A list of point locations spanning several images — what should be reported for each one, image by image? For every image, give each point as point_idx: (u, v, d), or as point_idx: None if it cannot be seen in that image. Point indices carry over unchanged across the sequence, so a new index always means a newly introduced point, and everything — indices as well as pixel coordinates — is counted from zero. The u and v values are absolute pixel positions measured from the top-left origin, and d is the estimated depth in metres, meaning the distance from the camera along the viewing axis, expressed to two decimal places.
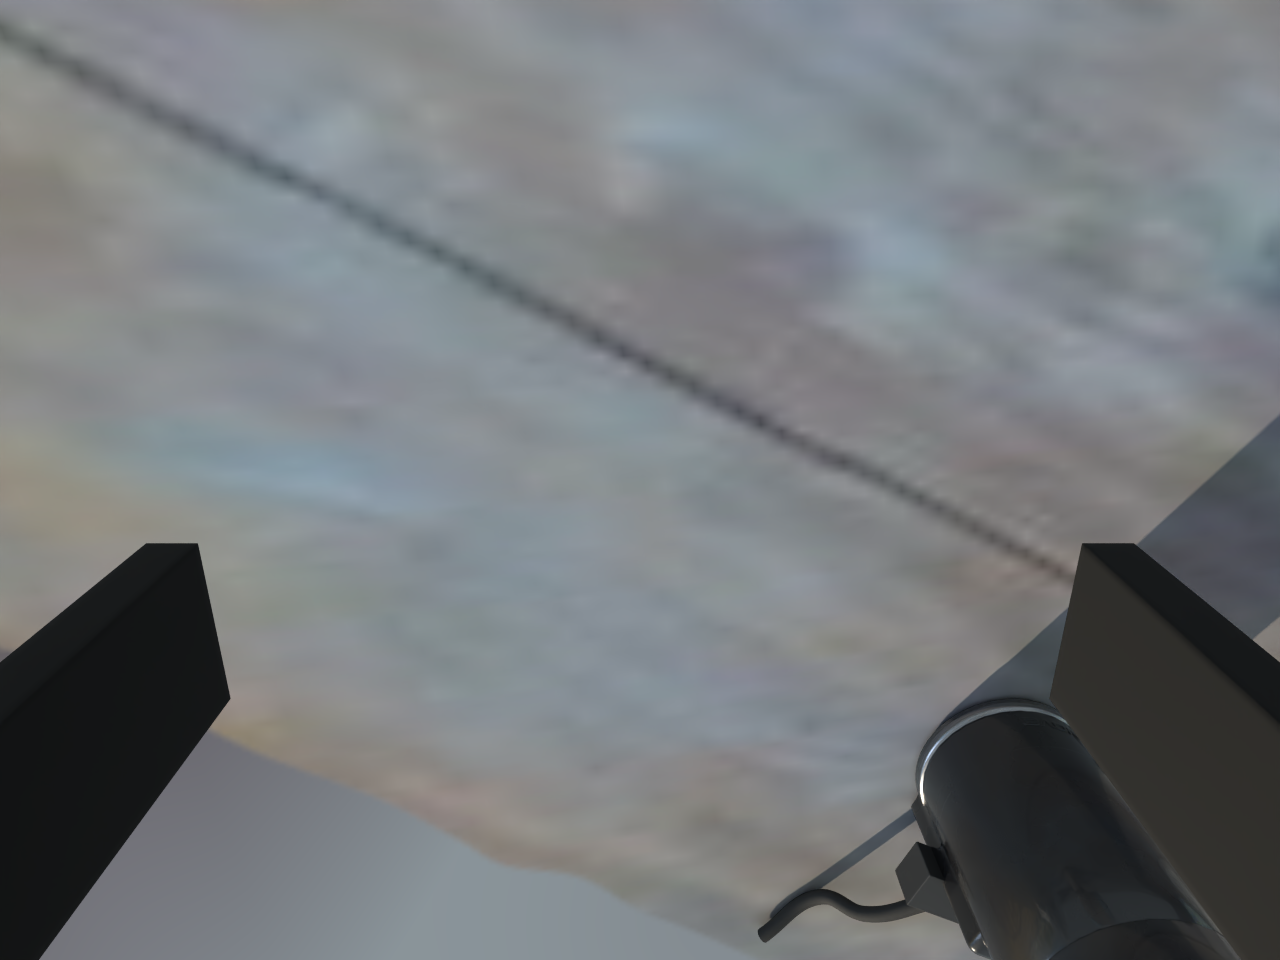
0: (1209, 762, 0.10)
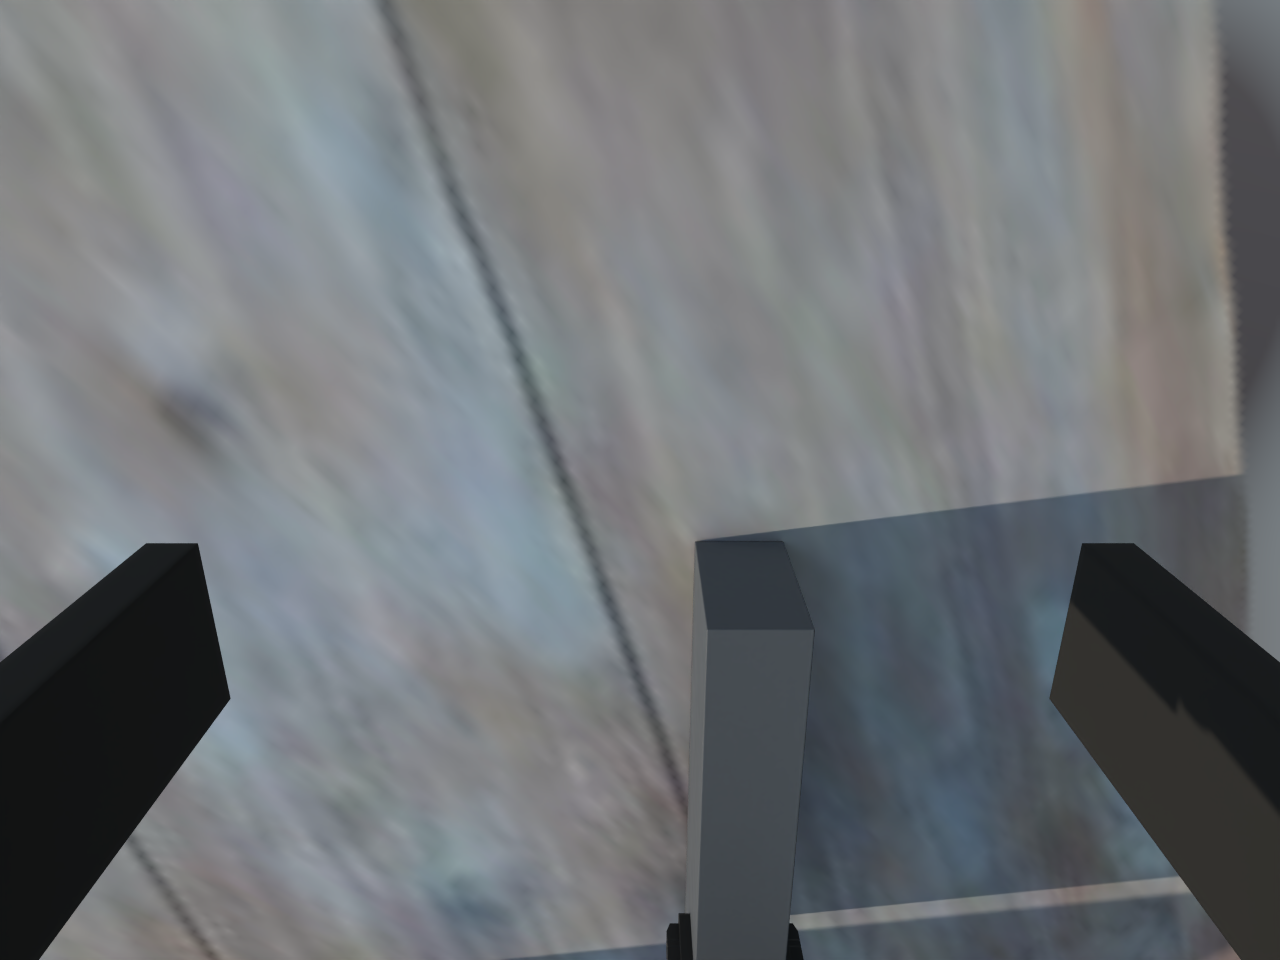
0: (1209, 762, 0.10)
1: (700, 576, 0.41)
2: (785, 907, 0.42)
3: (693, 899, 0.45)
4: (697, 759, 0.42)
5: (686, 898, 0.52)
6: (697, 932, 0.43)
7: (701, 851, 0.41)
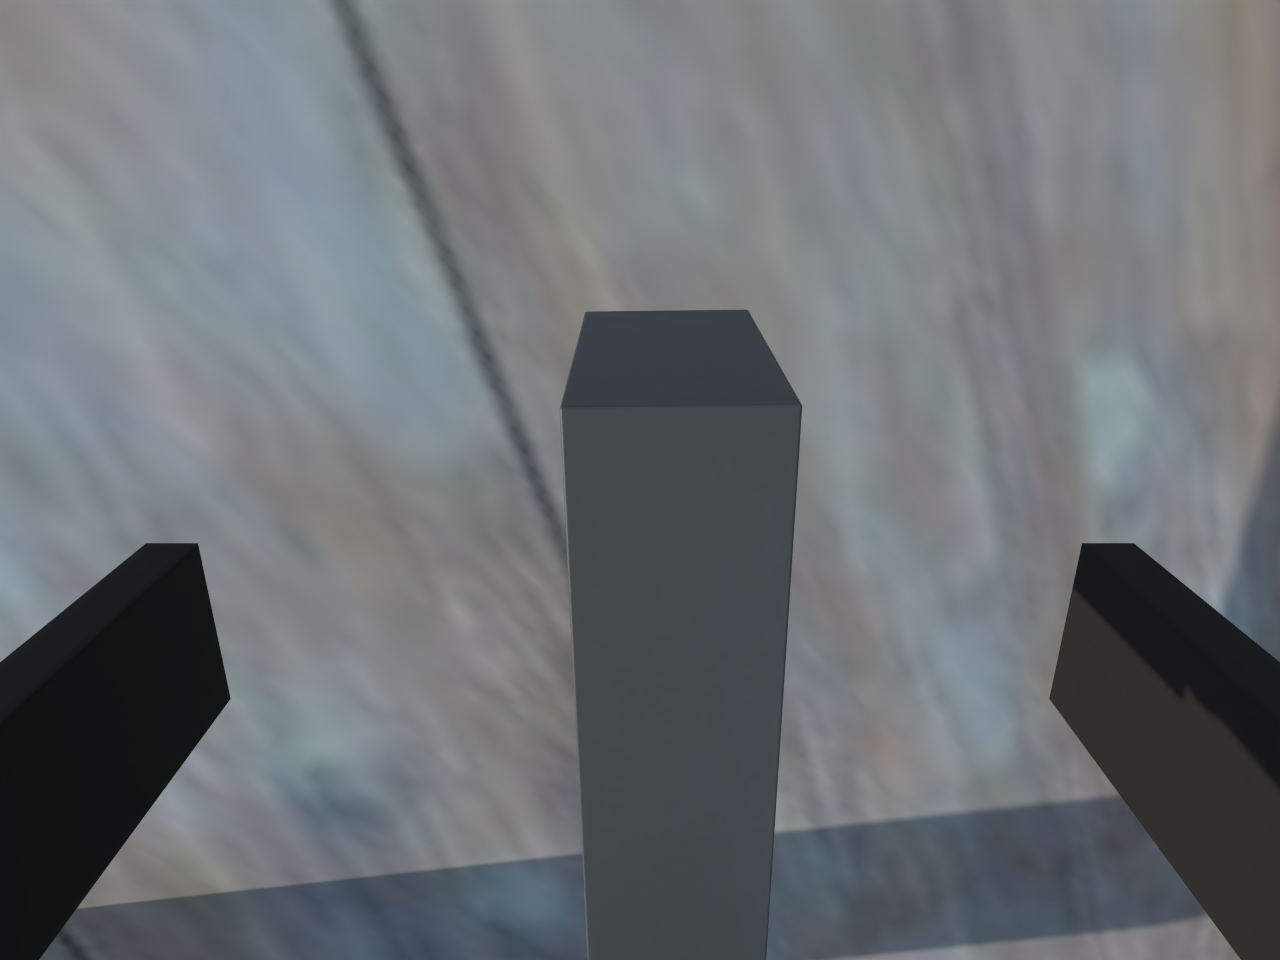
0: (1209, 762, 0.10)
1: (578, 345, 0.20)
2: None
3: None
4: None
5: None
6: None
7: (587, 884, 0.21)
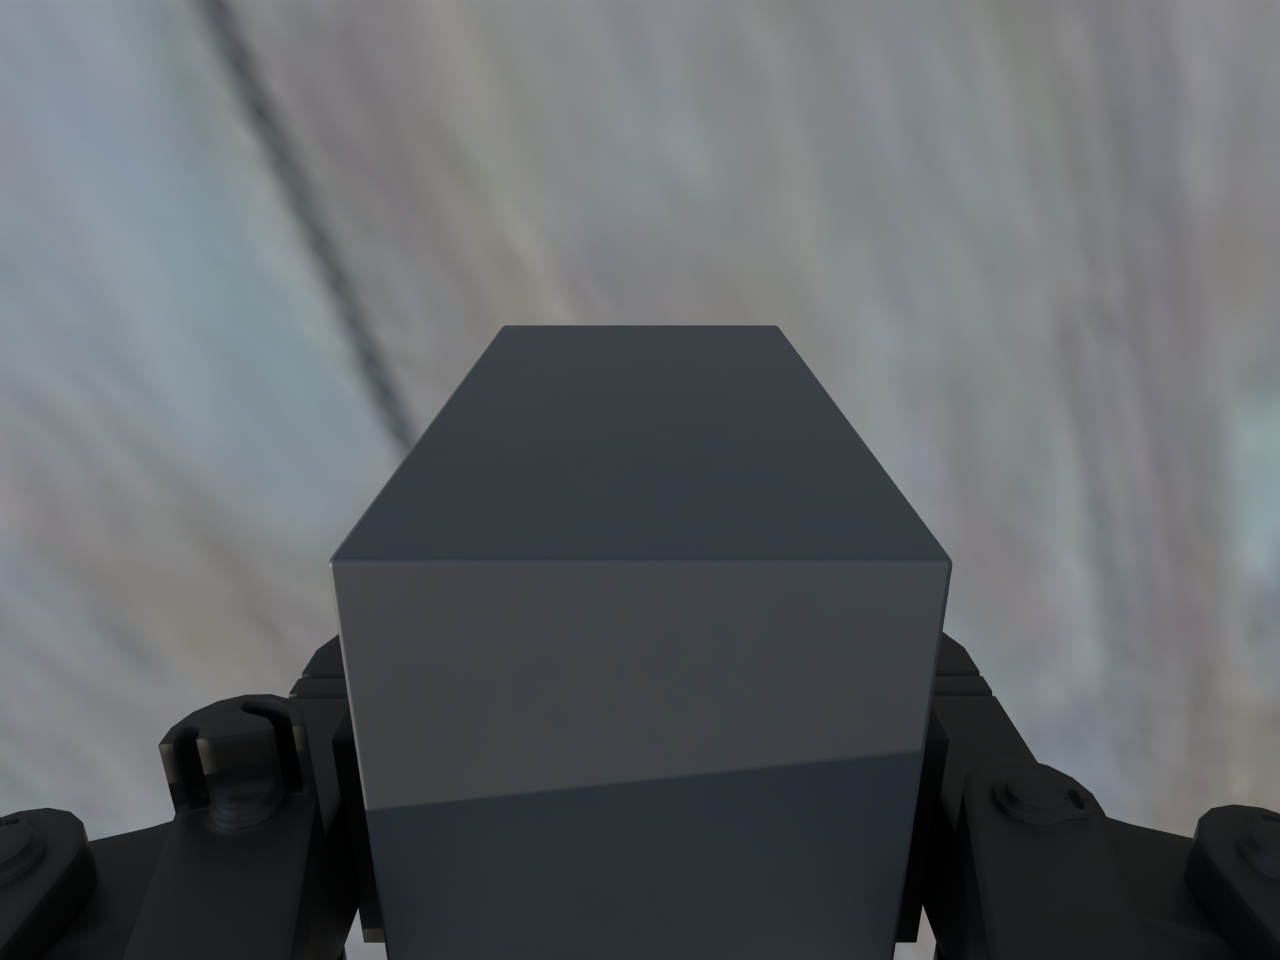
0: None
1: (460, 387, 0.11)
2: None
3: None
4: None
5: None
6: None
7: None
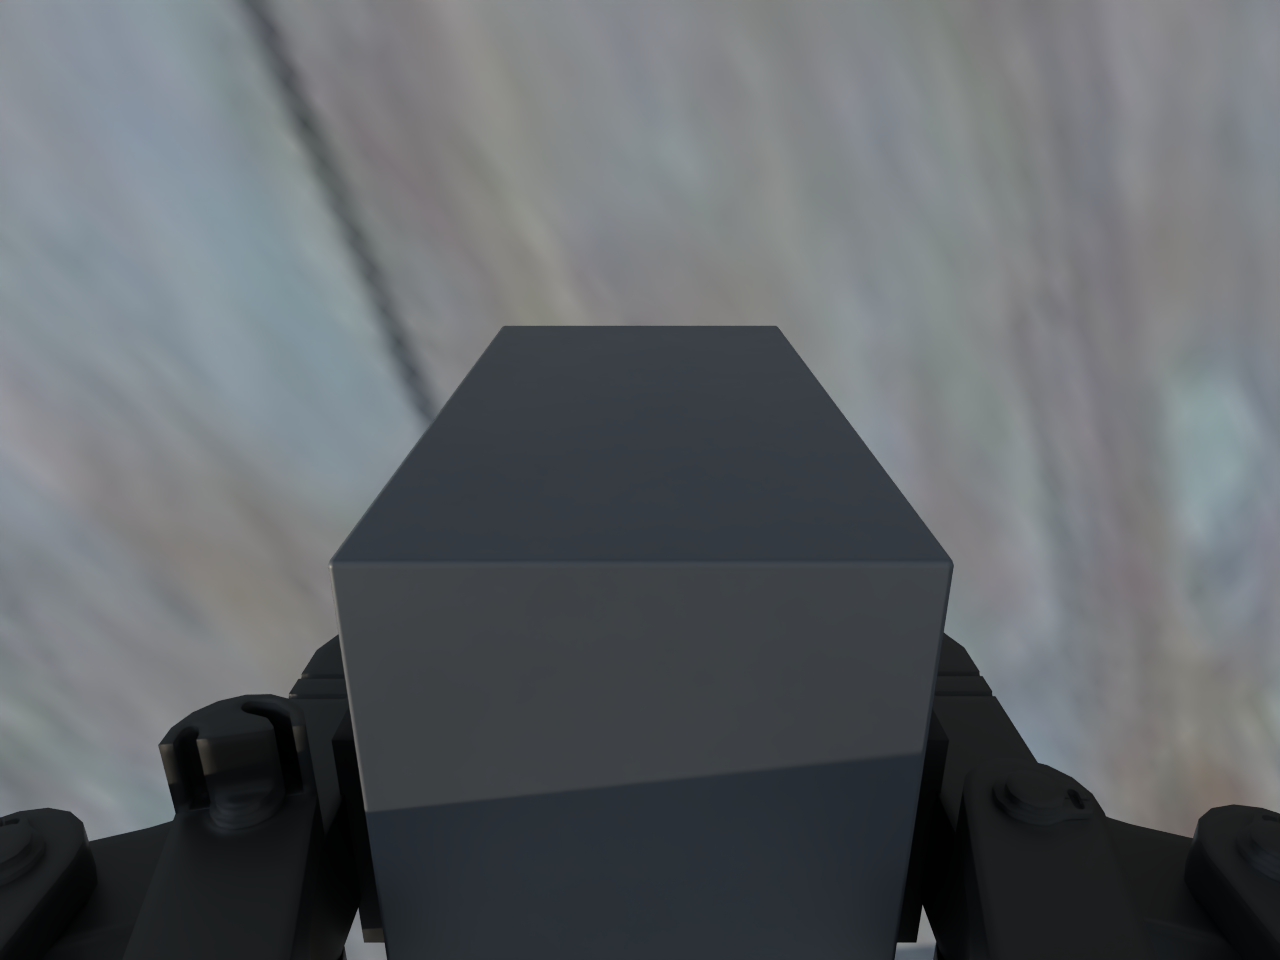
0: None
1: (460, 388, 0.11)
2: None
3: None
4: None
5: None
6: None
7: None
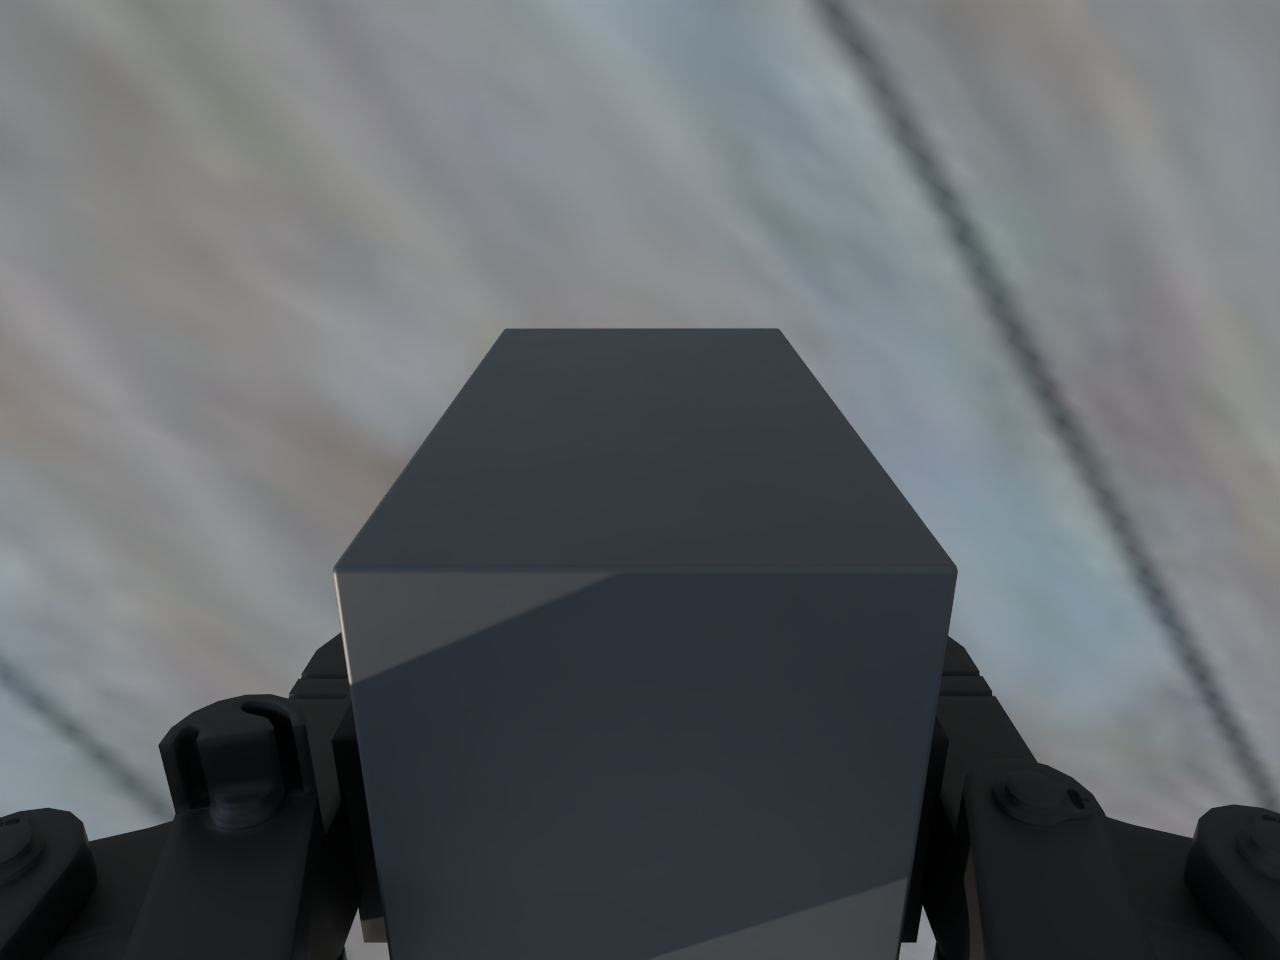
0: None
1: (462, 391, 0.11)
2: None
3: None
4: None
5: None
6: None
7: None
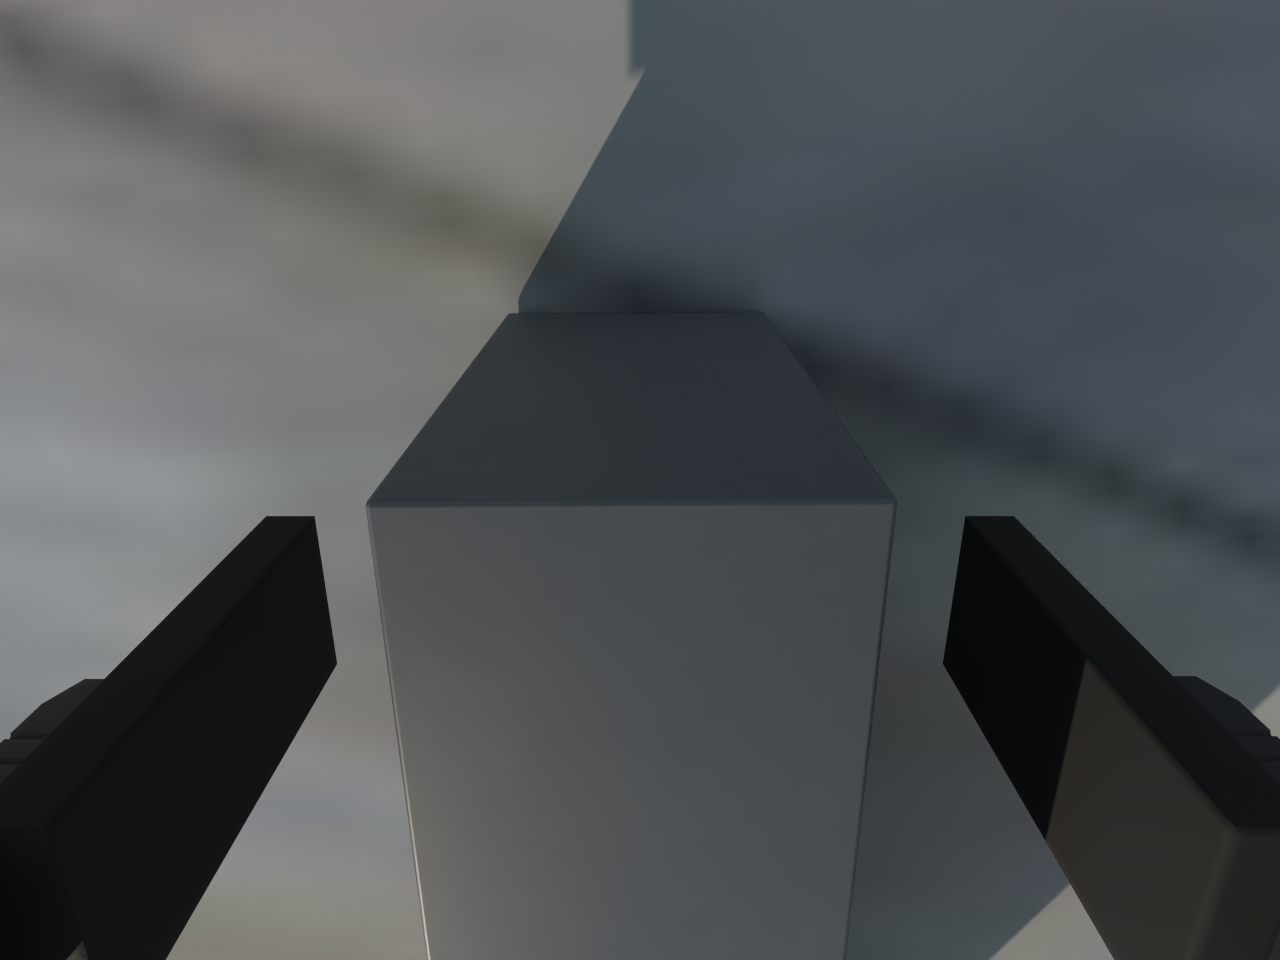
0: (1051, 709, 0.11)
1: (471, 366, 0.12)
2: None
3: None
4: None
5: None
6: None
7: None
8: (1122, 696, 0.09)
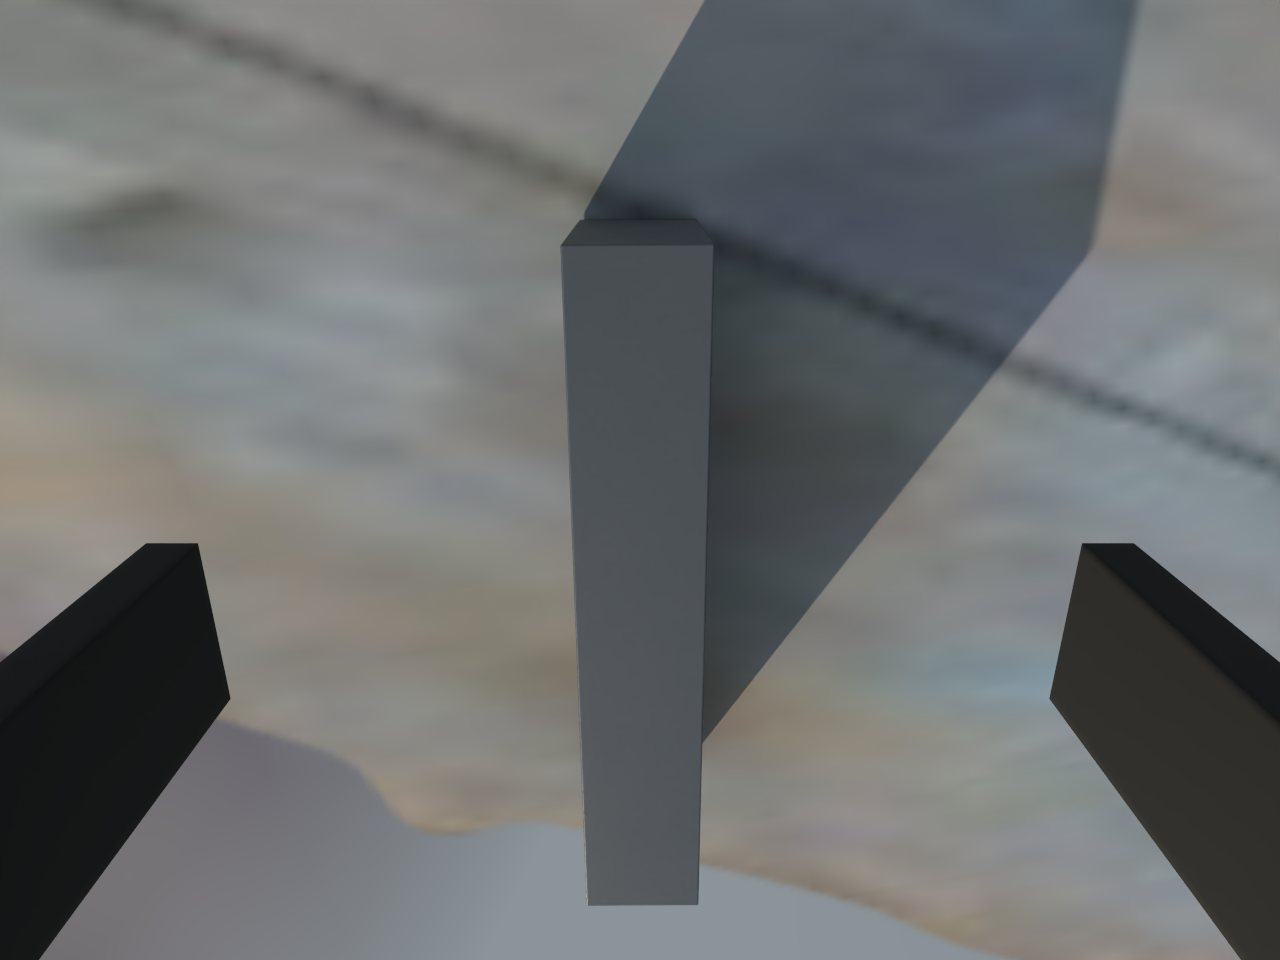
0: (1209, 762, 0.10)
1: (573, 229, 0.30)
2: (696, 689, 0.31)
3: None
4: None
5: None
6: (580, 728, 0.32)
7: (577, 604, 0.30)
8: None
